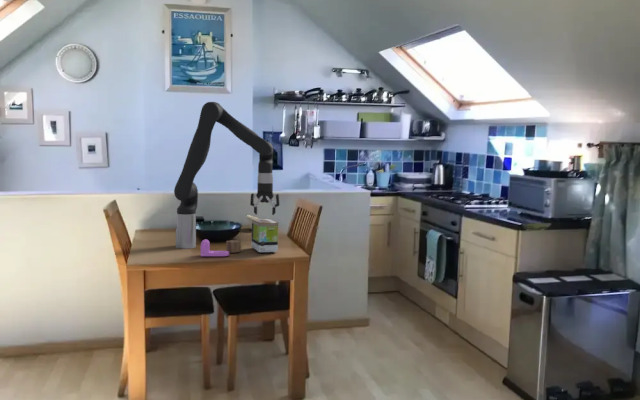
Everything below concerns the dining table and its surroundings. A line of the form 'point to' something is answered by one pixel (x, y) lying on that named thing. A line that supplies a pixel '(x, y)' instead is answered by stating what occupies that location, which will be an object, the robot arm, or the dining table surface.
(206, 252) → the bracket
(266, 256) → the dining table surface
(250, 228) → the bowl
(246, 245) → the dining table surface
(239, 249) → the walnut block
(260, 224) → the tea box
